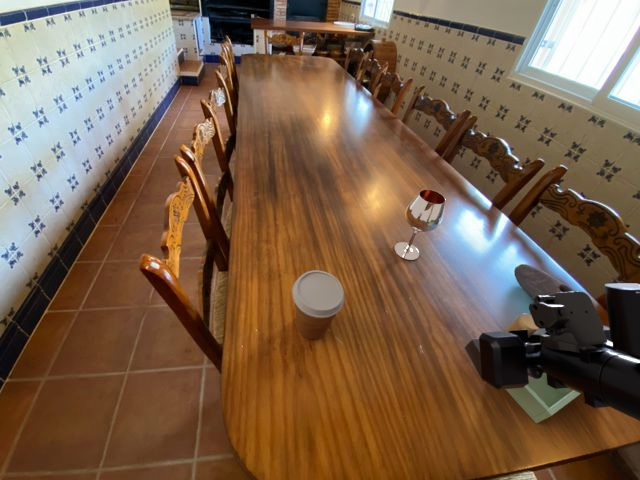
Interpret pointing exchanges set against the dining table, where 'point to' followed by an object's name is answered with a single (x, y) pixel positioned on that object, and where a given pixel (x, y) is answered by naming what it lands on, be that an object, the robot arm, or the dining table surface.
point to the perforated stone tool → (538, 281)
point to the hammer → (519, 324)
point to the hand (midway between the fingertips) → (499, 335)
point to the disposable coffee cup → (316, 302)
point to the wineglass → (421, 219)
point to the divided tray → (541, 398)
